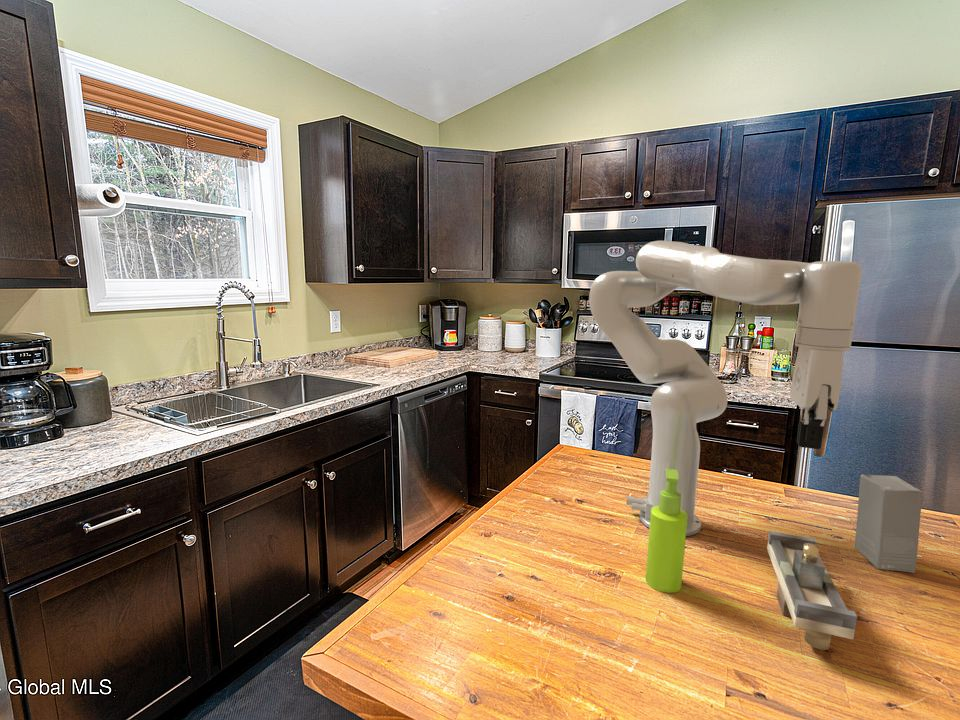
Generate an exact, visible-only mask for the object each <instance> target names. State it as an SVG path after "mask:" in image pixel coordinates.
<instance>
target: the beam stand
mask: <svg viewBox="0 0 960 720" xmlns="http://www.w3.org/2000/svg"><path fill="white" fill-rule="evenodd" d="M816 542H817V541H816V540H815V538H814V537H813V538H812V537H807V536H801V535H795V534H789V533H783V532H778V531H772V530H769V531H768V538H767V547H766V549H767V550H766V551H767V553H768V555H769V558H770V561H771V564H772V566H773V569H774V572H775V574H776V578H777V580H778V585H777V592H776V598H777V601H778V604H779V607H780V611H781V613H782V615H783V616H787V617H789V618H790V617H791V620H792V623H793V625H794V627H796V628H801V629H805V632H804V641H805V642H806V643H807V644H808V645H810V646H811V647H813V648H814V649H818V650H821V651H827V650H828V649H830V646H831V638H832V635H833V636H836V637H840V638H844V639H848V640H854V638H855V632H856V626H857V620H858V615H857V614H856V612H855V611H854V610H849V609H848V608H847V606H846V604H845V603H844V600H843V598H842V597H841V595H840V593H839V591H838V589H837V588H836V586H835V583H834V581H833V579H832V578H831V575H830V574H829V572H828V570H827V569H826V568H825V572H824V579H823V586H822V591H819V590H814V589H809V588H804V587H799V586H798V583H797V581H796V578H795V575H794V573H793V571H792V568H793V561H794V553H795V550H800V551H803V546H804V544H805V543H810V544H814V545H816V544H817V543H816ZM816 546H817V545H816Z"/></svg>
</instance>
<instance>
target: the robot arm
mask: <svg viewBox="0 0 960 720" xmlns="http://www.w3.org/2000/svg"><path fill="white" fill-rule="evenodd" d="M635 257H636V258H635V266H636V269H637V270H614V271H607V272H605V273H602V274H599V276H597V277H596V278H595V279H594V280H593V282H592V284H591V286H590V291H589V294H588V295H589V296H588V302H589V310H590V312H591V315H592V318H593V320H594V321H595V323H596V324H597V325H598V327H599V328H600V329H601V331H602V332H603V334H605V335H606V337H607V338H608V339H609V341H611V343H612V345H613V346H614V347H615V349H616V350H617V352H618V353H619V355H620V357H621V358H622V359H623V360H624V362H625V364H626V365H627V366H628V368H629V369H630V370H631V373H633V375H634V376H635V378H636V379H638V380H639V382H641V383H644V384H646V385H647V384H648V385H653V384H654V385H655V384H661V385H660V386H658V387H657V388H656V389H655V390H654V391H653V393H652V395H651V397H650V414H651V424H652V440H651V441H652V442H651V459H650V468H649V469H650V470H649V482H648V483H649V485H648V493H647V494H646V497H644V496H642V497H641V498H639V497H636V496H629V495H627V496H626V505H627V506H630V507H631V510H635V511H639V520H640V521H641V523H642V524H643V525H644V526H646V527H647V528H649V529H650V517H651V509H652V508H653V507H654V506H658V505H659V501H660V492H661V491H662V490H664V489H666V468H668V469H676V470H678V478H679V481H678V483H677V490H676V491H677V492H679V493H680V494H681V506H680V509H681V510H683V511H684V512H685V513H686V514H687V516H688V518H687V529H686V537H688V536H690V537H691V536H693V535H696V534H697V533H699V532H700V531H701V529H702V522H701V519H700V518H699V516H697V515H696V513H695V511H696V510H695V508H696V500H697V487H698V476H699V465H700V454H701V440H700V437H699V432H698V431H697V423H700V422H704V421H709V420H712V419H715V418H717V417H719V416H720V415H722V414H723V413H724V412H725V410H726V409H727V407H728V394H727V391H726V389H725V386H724V385H723V384H722V382H721V381H720V379H719V378H718V377H717V375H716V374H715V372H714V371H713V370H712V369H711V368H710V366H709V365H708V364H707V363H706V361H705V360H704V359H703V358H702V356H701V355H700V354H699V353H698V351H696V350H695V348H694V347H693V346H691V345H690V343H689V344H688V342H686V341H683V340H680V339H676V338H674V339H673V338H672V339H670V338H669V339H660V338H658V336H656V335H655V334H654V332H653V331H652V330H651V329H650V327H649V326H648V324H647V323H646V322H645V321H644V320H643V319H642V318H641V317H640V316H638V315H637V314H636V313H634V312H632V311H631V309H629V308H645V307H650V306H652V305H655V304H656V303H658V302H660V301H661V300H662V299H663V298H665V297H666V296H668V295H670V294H672V292H674V291H675V290H677V289H678V288H680V287H682V288H684V289H690V290H695V291H697V292H699V291H700V292H701V293H703V294H706V295H710V296H712V297H717V298H721V299H726V300H729V301H734V302H737V303H741V304H742V303H743V304H748V305H754V306H773V305H776V306H777V305H778V306H779V305H797V304H799V309H798V316H797V317H798V318H797V324H796V333H795V340H794V346H795V347H798V349H797V354H796V358H795V361H794V362H795V363H794V367H793V373H792V378H791V379H792V380H791V385H790V389H789V397H790V398H791V401H793V402H794V403H795V404H796V405H797V406H798V407H799V408H800V415H799V422H798V427H797V436H796V444H797V445H798V446H799V447H800V448H805V449H812V450H813V449H814V450H820V449H822V443H823V442H822V441H823V435H824V428H825V422H826V421H827V416H828V411H829V412H831V413H832V412H834V411H836V410H837V408H838V405H839V400H840V395H841V388H842V380H843V379H842V376H843V367H844V366H843V365H844V351H850V350H851V347H852V339H853V333H854V326H855V321H856V320H855V319H856V313H857V306H858V299H859V293H860V287H861V285H860V284H861V278H862V268H861V266H860V264H859V263H857V262H854V261H848V260H847V261H844V260H827V261H825V260H823V261H822V260H821V261H814V262H804V261H803V262H802V261H795V260H783V259H766V258H765V259H764V258H763V259H762V258H755V257H748V256H740V255H733V254H728V253H727V254H726V253H722V252H720V251H719V249H718V248H715V247H712V246H705V245H703V246H702V245H696V244H690V243H687V242H683V241H671V240H654V241H650V242H648V243H646V244H644V245H643V246H642V247H641V248H640V249H639V251H638V252H637V254H636V256H635ZM662 383H663V384H662Z"/></svg>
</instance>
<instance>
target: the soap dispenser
mask: <svg viewBox="0 0 960 720" xmlns="http://www.w3.org/2000/svg"><path fill="white" fill-rule="evenodd" d="M678 481H679V478H678V470H676V469H668V468H666V489H664V490H662V491H661V492H660V501H659V505H658V506H654V507H653V508H652V509H651V517H650V528H649V531H648V544H647V545H648V546H647V554H646V555H647V557H646V567H645V568H646V570H645V571H646V572H645V581H646V583H647V585H649V587H650V588H652V589H654V590H656V591H658V592H661V593H676V592H680V590H681V589H682V583H683V581H682V580H683V570H684V560H685V550H686V549H685V548H686V539H687V538H686V537H687V536H686V529H687V518H688V516H687V514H686V513H685V512H684V511H683V510H681V509H680V506H681V494H680V493H679V492H677V491H676V490H677V483H678Z"/></svg>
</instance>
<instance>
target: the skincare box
mask: <svg viewBox="0 0 960 720" xmlns="http://www.w3.org/2000/svg"><path fill="white" fill-rule="evenodd" d="M923 492H924V491H922V490H920V489H919V488H917V487H915V486H914V485H912V484H910V483H908V482H907V481H905V480H903V479H902V478H900V477H898V476H897V475H882V474H881V475H880V474H879V475H876V474H860V476H859V490H858V503H857V515H856V528H855V541H854V548H855V549H856V550H857V551H858V552H859V553H860V554H861V555H862V556H863V557H865V558H866V560H867V561H869V563H871V564H872V565H873V566H874V567H875V568H876V569H879V570H883V571H884V570H885V571H897V572H905V573H910V574H911V573H913V574H915V573H916V571H917V560H918V559H917V558H918V547H919V536H920V527H921V526H920V525H921V515H922V514H921V513H922V502H923V494H924V493H923Z"/></svg>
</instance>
